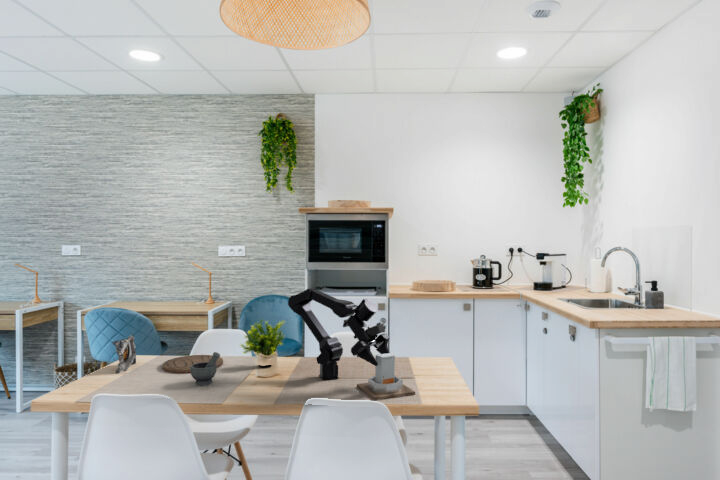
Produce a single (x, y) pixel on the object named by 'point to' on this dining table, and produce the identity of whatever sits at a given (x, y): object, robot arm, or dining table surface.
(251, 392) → the dining table surface
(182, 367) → the trivet
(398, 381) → the steel ring
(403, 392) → the walnut board
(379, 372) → the skincare box
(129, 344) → the grey piece
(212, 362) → the mortar and pestle
